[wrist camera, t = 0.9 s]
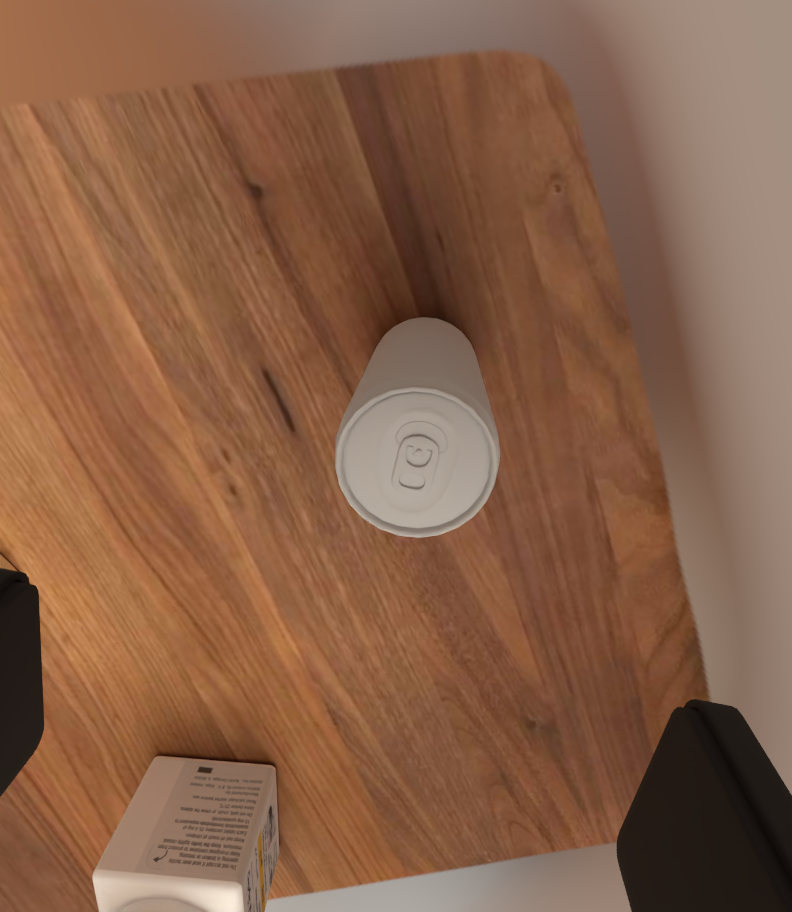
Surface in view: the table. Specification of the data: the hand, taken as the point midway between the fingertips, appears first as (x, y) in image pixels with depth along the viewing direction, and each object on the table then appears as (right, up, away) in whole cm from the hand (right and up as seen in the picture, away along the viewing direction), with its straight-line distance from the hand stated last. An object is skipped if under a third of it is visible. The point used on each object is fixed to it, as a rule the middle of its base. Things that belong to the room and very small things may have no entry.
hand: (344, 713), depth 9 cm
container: (-11, -18, +31) cm, 37 cm away
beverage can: (+2, +8, +19) cm, 21 cm away
